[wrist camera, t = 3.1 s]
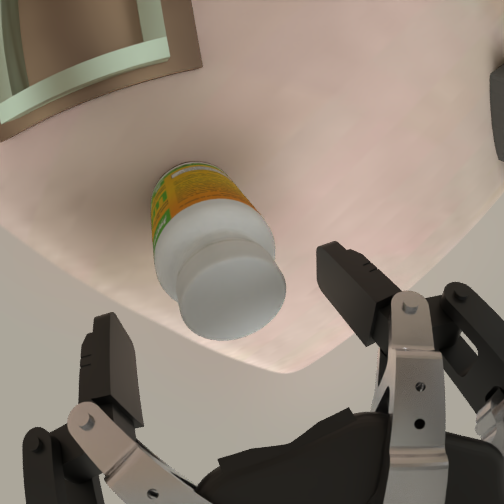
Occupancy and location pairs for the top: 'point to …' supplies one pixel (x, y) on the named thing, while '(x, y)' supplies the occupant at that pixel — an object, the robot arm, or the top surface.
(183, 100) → the top surface
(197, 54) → the socket board
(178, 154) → the top surface
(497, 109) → the alarm clock
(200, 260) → the supplement bottle
